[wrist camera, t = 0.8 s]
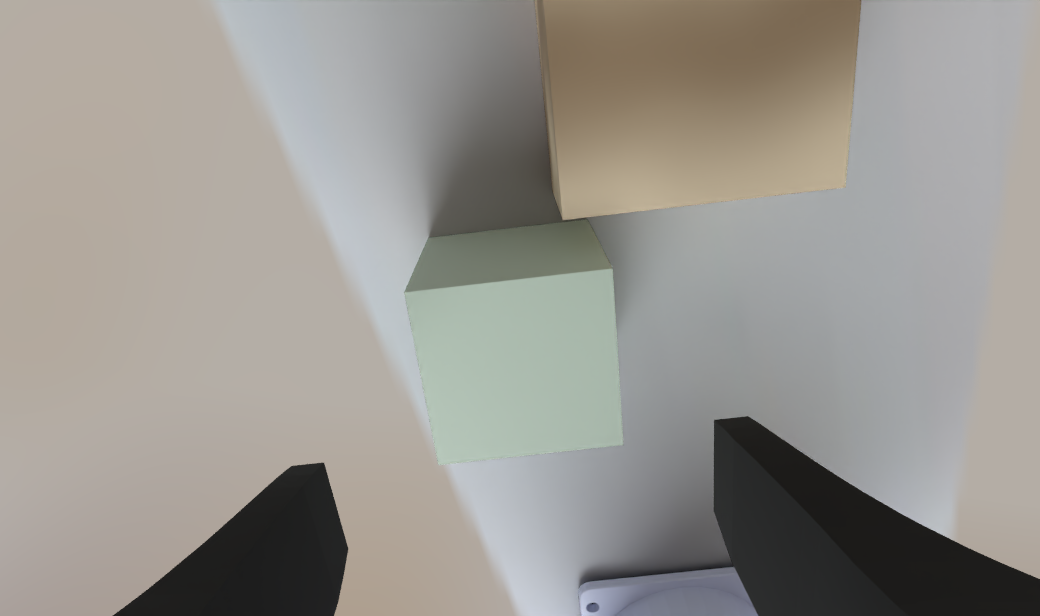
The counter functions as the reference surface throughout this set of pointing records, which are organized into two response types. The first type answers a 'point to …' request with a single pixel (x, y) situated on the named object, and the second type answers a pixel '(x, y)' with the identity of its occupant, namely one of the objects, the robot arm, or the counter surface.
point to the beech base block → (694, 100)
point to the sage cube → (517, 342)
